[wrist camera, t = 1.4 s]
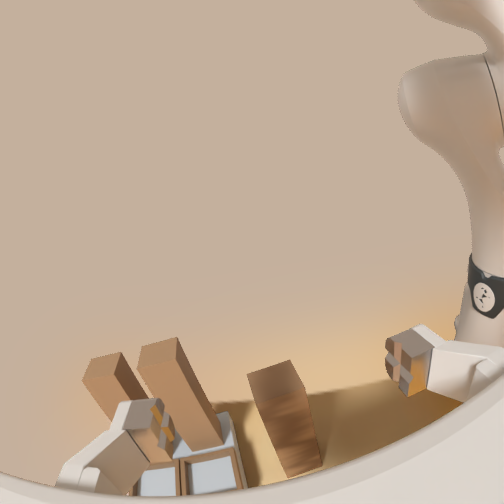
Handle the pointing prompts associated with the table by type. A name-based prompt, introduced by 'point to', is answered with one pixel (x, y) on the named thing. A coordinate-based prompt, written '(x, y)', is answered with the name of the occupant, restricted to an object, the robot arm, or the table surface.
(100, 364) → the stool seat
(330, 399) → the table surface
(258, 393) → the stool leg
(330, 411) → the table surface
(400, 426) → the table surface
